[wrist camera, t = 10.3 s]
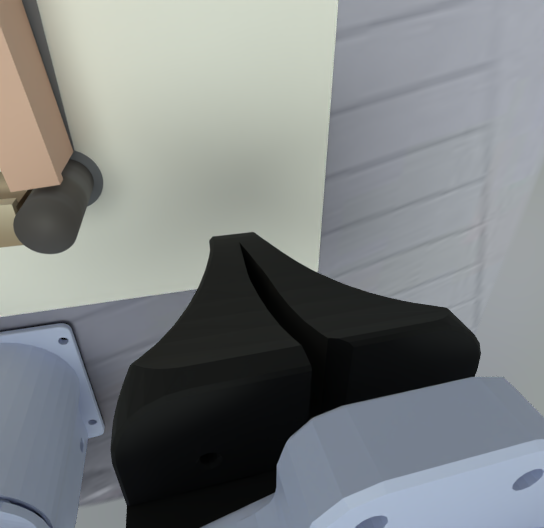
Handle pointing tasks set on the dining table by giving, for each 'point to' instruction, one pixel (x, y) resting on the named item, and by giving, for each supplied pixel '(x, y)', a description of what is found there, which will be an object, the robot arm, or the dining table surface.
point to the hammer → (46, 212)
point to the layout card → (180, 139)
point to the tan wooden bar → (27, 108)
